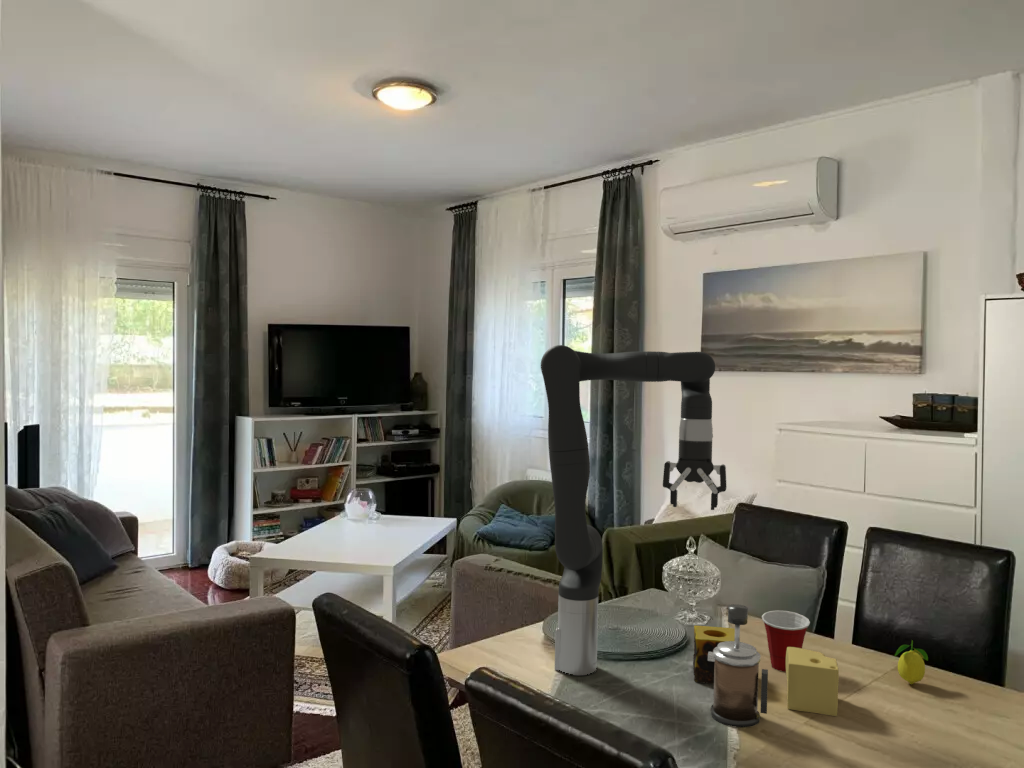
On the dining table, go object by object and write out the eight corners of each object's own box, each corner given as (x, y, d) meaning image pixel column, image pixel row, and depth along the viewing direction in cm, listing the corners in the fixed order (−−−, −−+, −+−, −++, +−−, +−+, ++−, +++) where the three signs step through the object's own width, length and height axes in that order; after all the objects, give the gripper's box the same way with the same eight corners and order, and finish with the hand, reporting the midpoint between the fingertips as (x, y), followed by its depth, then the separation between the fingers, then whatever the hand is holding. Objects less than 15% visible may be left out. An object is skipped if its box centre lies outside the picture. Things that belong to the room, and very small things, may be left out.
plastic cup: (757, 671, 183) (759, 620, 183) (762, 656, 193) (763, 607, 193) (807, 680, 179) (808, 628, 179) (809, 663, 189) (811, 614, 188)
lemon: (893, 685, 177) (894, 641, 176) (894, 676, 182) (895, 634, 182) (927, 692, 174) (928, 647, 173) (927, 682, 179) (928, 639, 178)
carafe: (704, 722, 157) (706, 657, 156) (708, 702, 166) (709, 641, 166) (766, 731, 153) (768, 665, 153) (766, 711, 162) (768, 648, 162)
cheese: (835, 697, 170) (837, 652, 170) (839, 719, 160) (840, 670, 159) (784, 690, 173) (786, 645, 173) (784, 710, 163) (786, 662, 163)
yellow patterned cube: (740, 687, 174) (741, 643, 174) (693, 683, 176) (694, 639, 176) (736, 670, 184) (738, 628, 184) (692, 666, 186) (693, 624, 186)
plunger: (716, 654, 157) (717, 610, 157) (718, 642, 164) (719, 599, 164) (756, 659, 154) (757, 614, 154) (756, 646, 162) (757, 603, 161)
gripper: (662, 438, 180) (660, 508, 181) (726, 441, 176) (724, 513, 176) (666, 435, 187) (664, 503, 188) (728, 438, 183) (726, 507, 183)
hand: (693, 508), depth 182 cm, fingers open, 8 cm apart
